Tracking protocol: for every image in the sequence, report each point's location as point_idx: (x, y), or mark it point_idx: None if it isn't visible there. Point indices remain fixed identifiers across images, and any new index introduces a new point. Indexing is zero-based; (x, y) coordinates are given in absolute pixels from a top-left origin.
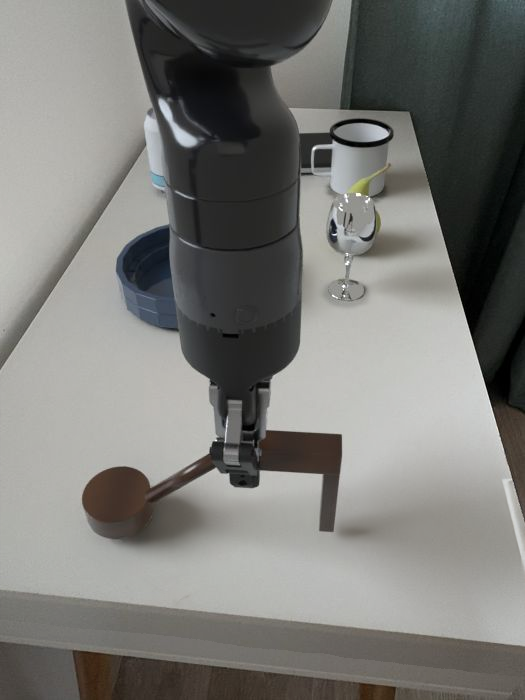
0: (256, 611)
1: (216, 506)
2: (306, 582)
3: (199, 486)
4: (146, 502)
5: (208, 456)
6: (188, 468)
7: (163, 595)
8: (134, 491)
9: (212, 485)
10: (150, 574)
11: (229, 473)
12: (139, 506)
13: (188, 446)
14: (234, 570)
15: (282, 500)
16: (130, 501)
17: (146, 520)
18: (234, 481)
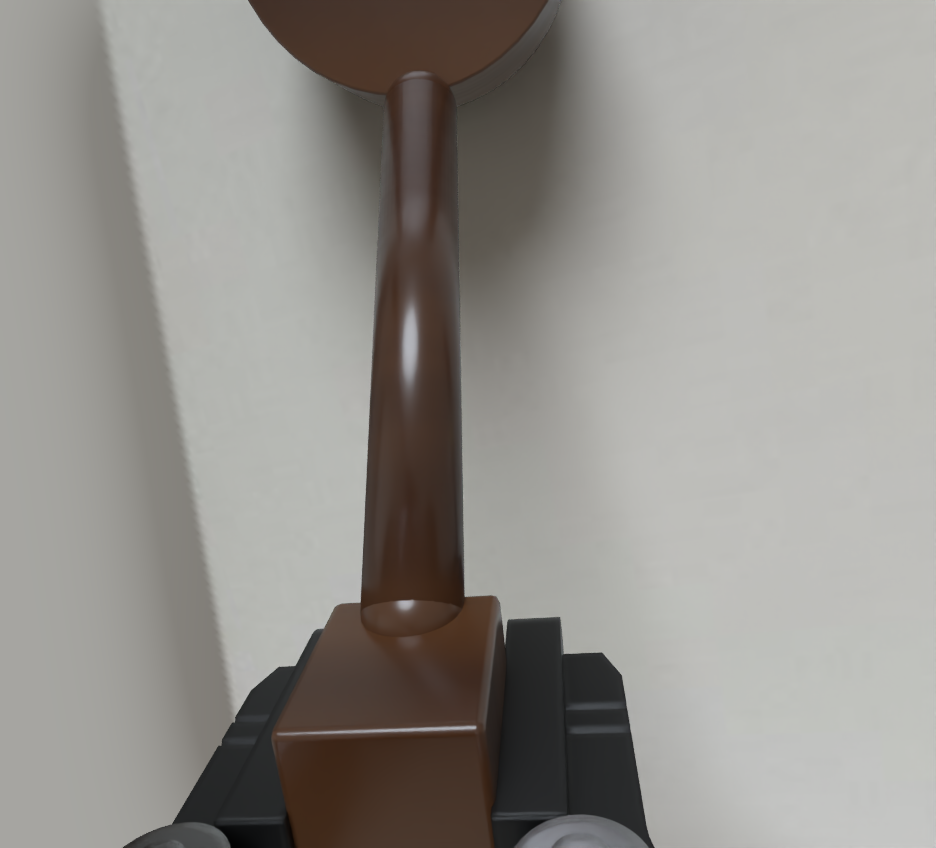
0: (207, 548)
1: (551, 346)
2: None
3: (637, 254)
4: (376, 93)
5: (392, 536)
6: (398, 361)
7: (171, 252)
8: (424, 2)
9: (649, 307)
10: (229, 179)
11: (289, 682)
12: (346, 66)
13: (860, 139)
14: (315, 462)
15: (614, 574)
16: (364, 5)
17: (371, 101)
18: (239, 719)
